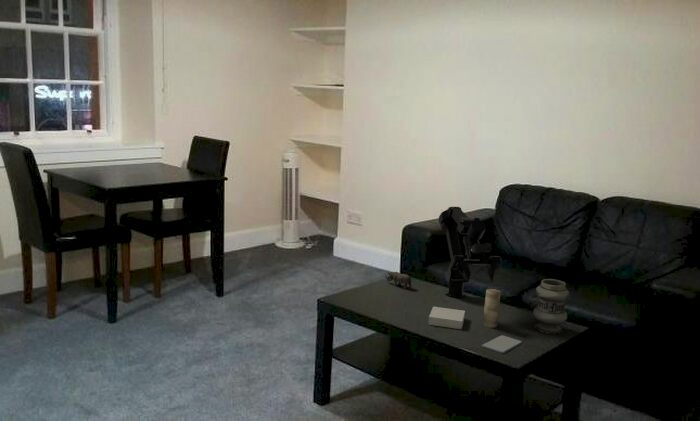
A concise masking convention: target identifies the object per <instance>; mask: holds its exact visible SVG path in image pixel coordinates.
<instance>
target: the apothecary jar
mask: <svg viewBox="0 0 700 421" xmlns="http://www.w3.org/2000/svg"><path fill="white" fill-rule="evenodd" d="M566 285H567V284H566V282H565V281H562V280H558V279H555V278H554V279H553V278H545V279H542V280H541V281H540V284H539V285H537V287H536V289H535V295H537V305H536V307H534V309H533V310H532V311H533V312H532V314H533V316H534V318H535V319H536V320H537V321H539V322H538V323H536V324H535V325H534V329H536V330H538V332H541V333H544V332H545V333H544V334H549V333H559V334H561V333H563V329H562V327H561V326H559V325H561V324H563V323H565V321H567V319H568V314H567V311H566V309H565V307H566V300H567V299H568V298H570V291H569V289H567V288H566V287H567V286H566ZM560 332H561V333H560Z"/></svg>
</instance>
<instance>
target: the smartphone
mask: <svg viewBox="0 0 700 421" xmlns="http://www.w3.org/2000/svg"><path fill="white" fill-rule="evenodd" d="M522 343H523V341H522V340H519V339H516V338H512V337H510V336H507V335H502V334H500V335H499V336H496V337H495V338H493V339H490V340H489V341H487V342H485V343H483V344H481V348H483V349H486V350H489V351H491V352H495V353H498V354H501V355H504V354H505V353H508V352H509V351H510V350H513V349H514V348H516V347H518V346H519V345H521V344H522Z"/></svg>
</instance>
